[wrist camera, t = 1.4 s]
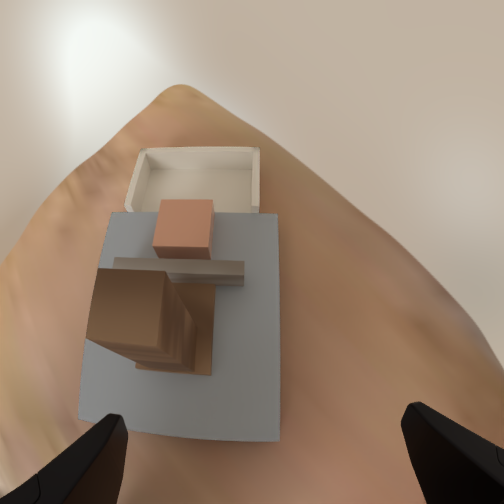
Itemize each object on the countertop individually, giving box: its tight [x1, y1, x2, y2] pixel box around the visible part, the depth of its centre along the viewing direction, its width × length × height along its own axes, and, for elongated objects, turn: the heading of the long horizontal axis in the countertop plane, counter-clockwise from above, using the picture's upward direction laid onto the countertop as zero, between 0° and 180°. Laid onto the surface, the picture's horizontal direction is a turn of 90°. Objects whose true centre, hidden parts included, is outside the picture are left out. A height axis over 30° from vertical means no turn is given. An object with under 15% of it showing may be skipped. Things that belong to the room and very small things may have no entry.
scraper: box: [86, 257, 245, 376], centre depth 17 cm, size 7×9×10 cm
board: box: [78, 212, 280, 442], centre depth 23 cm, size 17×14×2 cm
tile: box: [152, 199, 215, 260], centre depth 24 cm, size 4×4×2 cm
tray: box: [124, 147, 260, 213], centre depth 27 cm, size 6×11×3 cm, turn 89°
